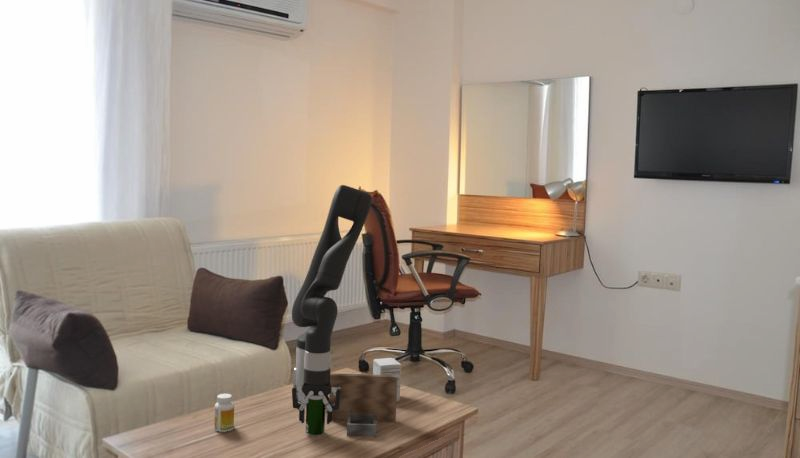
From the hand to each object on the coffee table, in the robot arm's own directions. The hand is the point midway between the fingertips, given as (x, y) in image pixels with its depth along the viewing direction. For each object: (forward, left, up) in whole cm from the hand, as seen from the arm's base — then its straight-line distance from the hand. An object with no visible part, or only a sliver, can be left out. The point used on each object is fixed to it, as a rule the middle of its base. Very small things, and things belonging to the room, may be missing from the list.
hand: (315, 422), depth 195 cm
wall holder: (+8, +12, -3) cm, 14 cm away
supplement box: (-1, +36, -4) cm, 36 cm away
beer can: (0, 0, -4) cm, 4 cm away
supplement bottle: (-22, -14, -4) cm, 26 cm away
